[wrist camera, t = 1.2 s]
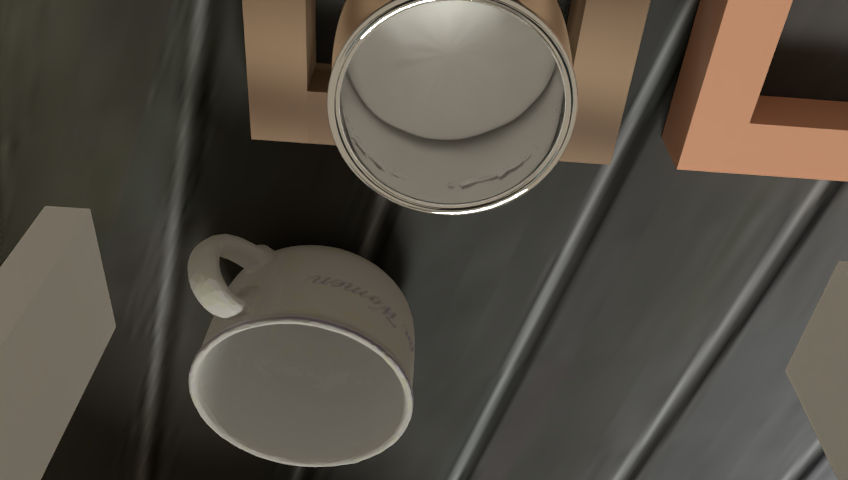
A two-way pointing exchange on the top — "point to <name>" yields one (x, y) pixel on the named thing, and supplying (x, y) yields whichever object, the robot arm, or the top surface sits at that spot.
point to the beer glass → (451, 99)
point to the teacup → (301, 352)
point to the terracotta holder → (748, 102)
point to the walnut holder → (308, 81)
